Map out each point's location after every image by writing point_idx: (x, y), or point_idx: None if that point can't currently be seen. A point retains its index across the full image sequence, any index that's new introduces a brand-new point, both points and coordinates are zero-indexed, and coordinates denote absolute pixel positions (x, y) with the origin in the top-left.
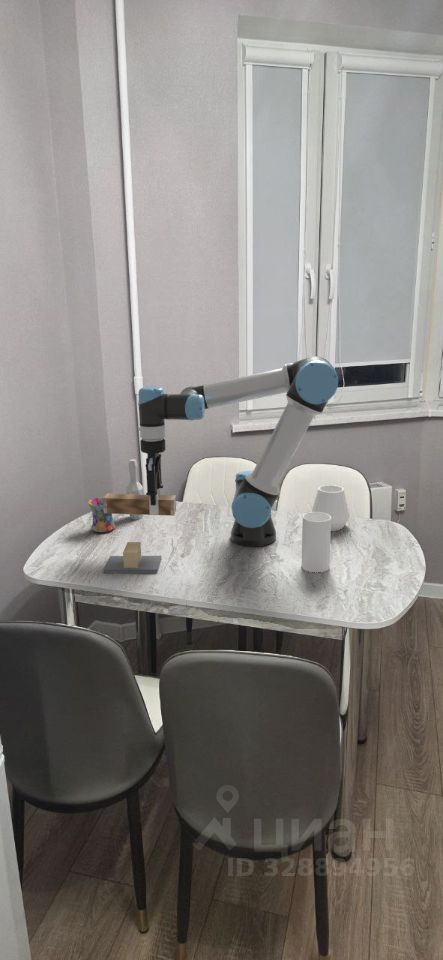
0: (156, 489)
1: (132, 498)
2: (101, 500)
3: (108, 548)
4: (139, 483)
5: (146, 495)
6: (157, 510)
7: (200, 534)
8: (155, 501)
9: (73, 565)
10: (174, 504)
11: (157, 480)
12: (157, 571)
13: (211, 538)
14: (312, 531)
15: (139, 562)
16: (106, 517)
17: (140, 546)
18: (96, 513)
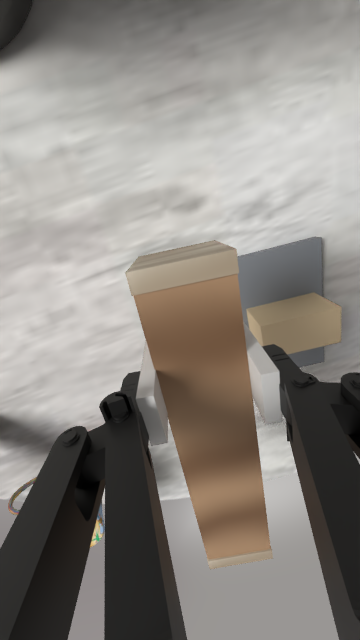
0: (321, 402)
1: (251, 471)
2: None
3: None
4: None
5: (185, 434)
6: (245, 325)
7: (7, 204)
8: (271, 356)
9: (283, 422)
10: (196, 251)
11: (150, 477)
12: (311, 238)
13: (23, 149)
14: None
15: (280, 300)
16: None
17: (263, 319)
18: (101, 500)
